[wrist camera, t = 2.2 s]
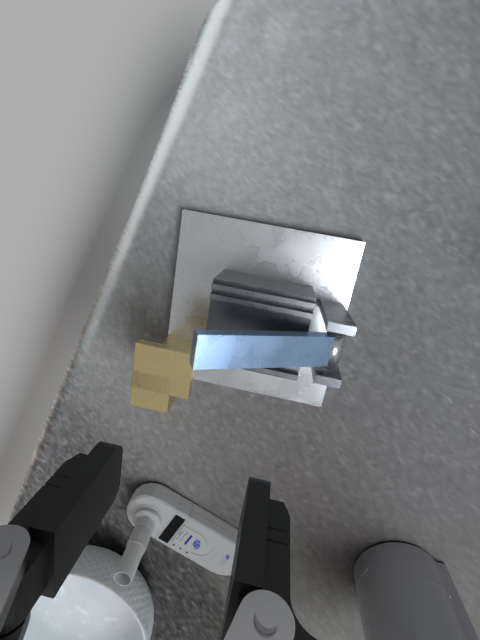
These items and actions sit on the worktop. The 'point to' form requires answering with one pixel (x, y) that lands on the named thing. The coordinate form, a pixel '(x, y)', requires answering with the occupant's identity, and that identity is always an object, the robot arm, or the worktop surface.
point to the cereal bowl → (94, 604)
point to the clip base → (263, 294)
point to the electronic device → (175, 532)
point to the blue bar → (264, 349)
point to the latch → (161, 373)
